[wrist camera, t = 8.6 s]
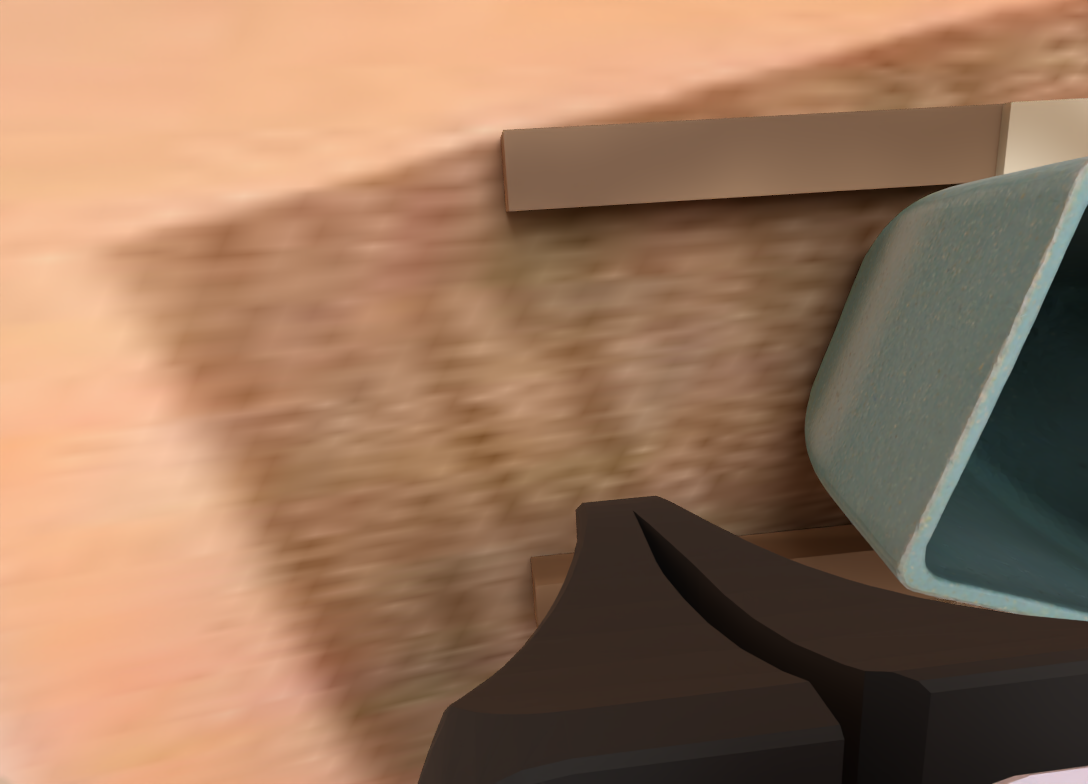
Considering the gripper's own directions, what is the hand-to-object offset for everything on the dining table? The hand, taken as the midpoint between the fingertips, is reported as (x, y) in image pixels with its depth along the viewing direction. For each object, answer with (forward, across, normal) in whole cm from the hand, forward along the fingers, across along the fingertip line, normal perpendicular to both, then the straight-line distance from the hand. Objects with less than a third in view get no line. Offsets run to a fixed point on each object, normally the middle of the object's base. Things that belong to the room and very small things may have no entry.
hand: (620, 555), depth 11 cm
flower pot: (+11, -11, 0) cm, 16 cm away
